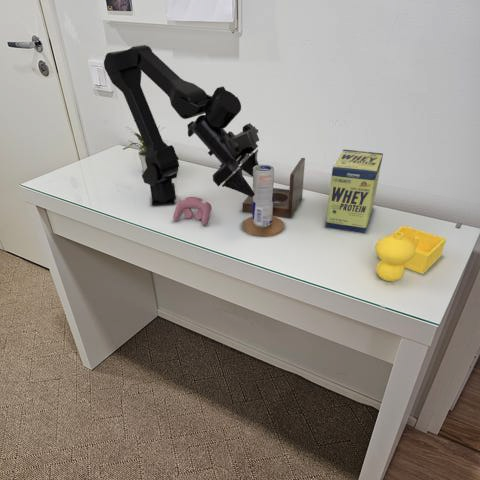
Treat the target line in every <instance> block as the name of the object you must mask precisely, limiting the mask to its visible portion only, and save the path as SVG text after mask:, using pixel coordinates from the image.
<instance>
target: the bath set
mask: <svg viewBox="0 0 480 480" xmlns="http://www.w3.org/2000/svg"><path fill="white" fill-rule="evenodd" d="M446 241H447V238H446V237H445V238H444V237H442V236H439V235H435V234H433V233H429V232H426V231H422V230H419V229H416V228H412V227H410V226H407V225H403V224H402V226H400V227H399V228H398V229H397V230H395V231H394V232H393V233H392V234H389V235H386V236H384V237H382V238H380V239H379V240H378V241H377V243H375V252H376V255H377V257H378V258H379V259H380V260H379V262H378V263H377V265H376V274H377V275H378V276H379V278H380V279H382V280H383V281H385V282H394V281H398V280H399V279H401V278H402V277H403V276H404V273H405V270H406V269H407V270H409V271H413V272H416V273H419V274H421V275H424V274H425V273H426V272H427V271H428V270H429V269H430V268H431V267H432V266H433V265H434V264H435V263H436V262H437V261H438V260H439V259H440V258H441V257H442V254H443V252H444V251H443V250H444V249H445V244H446Z"/></svg>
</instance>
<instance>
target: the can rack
mask: <svg viewBox="0 0 480 480" xmlns="http://www.w3.org/2000/svg"><path fill="white" fill-rule="evenodd" d="M299 198H301V197H299ZM299 198H298V200H297V202H296V205H295V207H296V208H294V207H293V208H294V209H295V210H294V211H295V212H292V210H291V212H290V211H289V209H288V206H289V189H286V188H278V187H273V214H272V216H273V217H278V218H279V217H280V218H287V219H292V218H293V216H294V214H295V213H296V211H297V210H298V208H299V205H300V204H301V202H302V200H300V199H299ZM299 200H300V201H301V202H299V203H298V201H299ZM242 212H243V213H250V214H253V197H250V196H248V195H247V197H246V198H245V199H244V201H243V202H242ZM288 213H291V218H289V217H288V215H290V214H288ZM293 213H294V214H293ZM292 214H293V215H292Z"/></svg>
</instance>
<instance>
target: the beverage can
mask: <svg viewBox="0 0 480 480" xmlns="http://www.w3.org/2000/svg"><path fill="white" fill-rule="evenodd" d="M274 170H275V168H274V166H273V165H270V164H259V165H257V166H254V167H253V177H252V190H253V192H254V193H255V195H254V196H253V213H252V217H253V223H254V224H255V225H256V226H257V227H262V228H263V227H268V226H269V225H270V224H271V223H272V214H273V202H274V201H273V188H274V184H275V183H274V182H275V178H274V177H275V171H274Z"/></svg>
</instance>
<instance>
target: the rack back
mask: <svg viewBox="0 0 480 480" xmlns="http://www.w3.org/2000/svg"><path fill="white" fill-rule="evenodd" d="M305 166H306V158H305V157H301V158H300V159H299V161H298V163H297V164H296V165H295V167H294V168H293V170H292V171H291V173H290V174H289V189H288V190H289V206H288V209H289V211H290V212H291V210H292V212H295V213H296V211H294V210H295V209H294V208H296V207H295V205H296V202H297V200H298V198H299V197H301V198H299V199H300V200H301V201H300V200H299V201H298V203H299V202H300V203H301V202H302V200H303V191H304V176H305ZM293 207H294V208H293ZM295 213H293V214H292V215H293V216H294V214H295ZM288 214H290V215H288V217H289V218H288V219H292V218H291V213H288Z"/></svg>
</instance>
